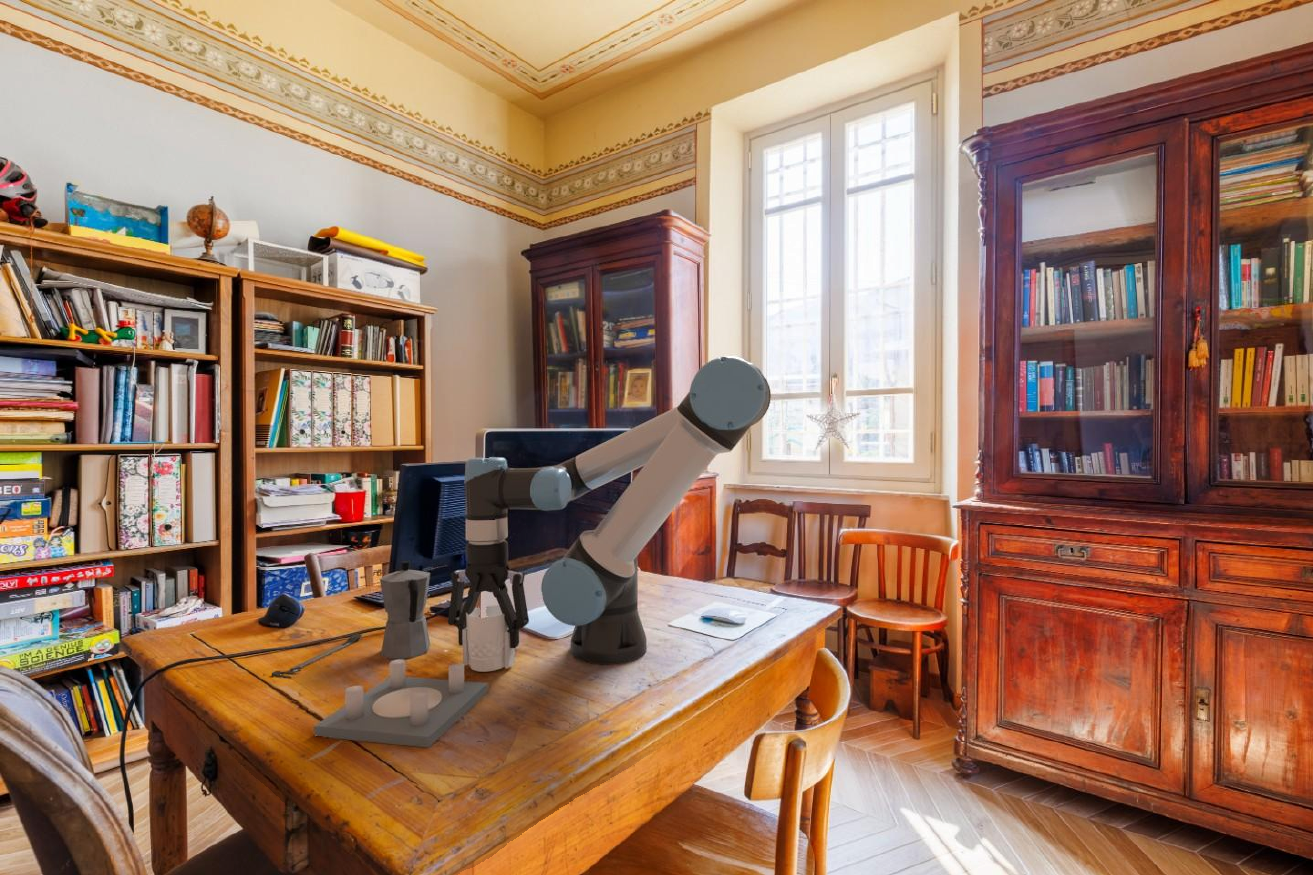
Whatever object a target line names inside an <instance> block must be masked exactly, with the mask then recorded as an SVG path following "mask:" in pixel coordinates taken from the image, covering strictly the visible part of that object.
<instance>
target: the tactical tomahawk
mask: <svg viewBox="0 0 1313 875" xmlns="http://www.w3.org/2000/svg"><path fill="white" fill-rule="evenodd" d="M361 638H362V634H361V633H357V634H353V635H351V636H349V637H348V639H347V640H345V642H343V643H341V644H337V645H335V646H332V647H330V648H328V649H327V650H324V651H323V652H321V653H319V654H317V655H315V656H313V657H310V658H308V659H307V660H305V661H303V662H300V663H299V664H297V665H295V666H293V667H291V668H289V669H288V670H285V671H284V670H283V671H281V670H275V671H272V672H271V676H272V677H273V678H275V677H274V676H276V677H277V676H278V678H280V677H283V678H282V679H286V678H287V679H289V680H292V679H291V677H292V676H290V675H296V674H298V673H297V672H301V671H302V669H304V668H305V666H306V667H308V666H309V665H312V664H313V662H314V663H315V662H318V661H320V660H322V659H324V658H326V657H329V656H331V655H332V654H331V653H333V652H335V653H337V652H339V651H340V650H342V649H345V648H348V647H349V646H351V645H353V644H354V643H355V641H357V640H360V639H361ZM333 654H334V653H333ZM325 656H326V657H325ZM311 663H312V664H311ZM283 673H287V674H283ZM280 674H281V675H280ZM287 679H286V680H287Z"/></svg>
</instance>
